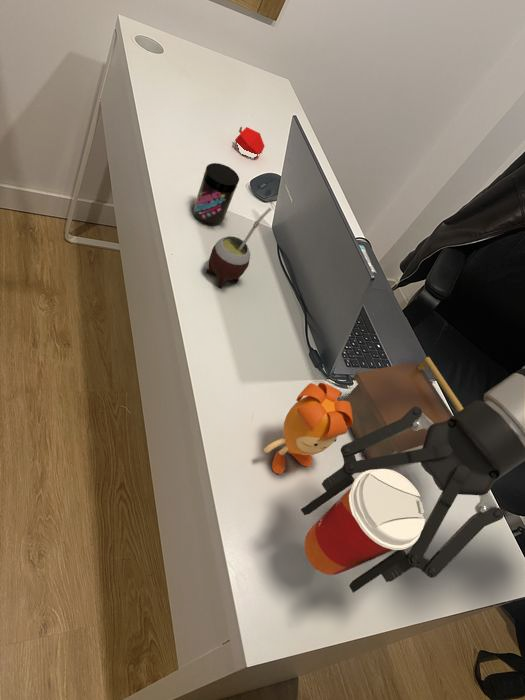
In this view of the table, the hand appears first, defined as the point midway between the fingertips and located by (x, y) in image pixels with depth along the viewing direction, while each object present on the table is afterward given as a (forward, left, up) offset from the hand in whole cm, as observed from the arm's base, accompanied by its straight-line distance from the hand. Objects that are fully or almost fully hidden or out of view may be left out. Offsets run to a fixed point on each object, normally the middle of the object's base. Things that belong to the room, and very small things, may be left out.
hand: (328, 548), depth 54 cm
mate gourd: (+53, -12, -14) cm, 56 cm away
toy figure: (+16, -9, -14) cm, 23 cm away
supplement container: (+70, -15, -14) cm, 73 cm away
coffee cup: (+1, -3, -6) cm, 7 cm away
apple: (+94, -35, -14) cm, 101 cm away
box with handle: (+16, -28, -13) cm, 35 cm away
